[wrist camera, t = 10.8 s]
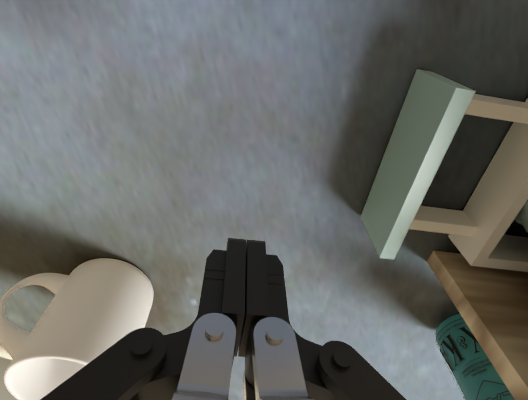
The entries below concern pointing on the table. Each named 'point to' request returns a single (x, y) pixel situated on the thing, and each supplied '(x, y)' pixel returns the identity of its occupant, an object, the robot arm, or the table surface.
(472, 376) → the beverage bottle
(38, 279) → the mug
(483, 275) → the open wooden box
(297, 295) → the table surface
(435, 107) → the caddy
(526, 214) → the grey green hollow cylinder
